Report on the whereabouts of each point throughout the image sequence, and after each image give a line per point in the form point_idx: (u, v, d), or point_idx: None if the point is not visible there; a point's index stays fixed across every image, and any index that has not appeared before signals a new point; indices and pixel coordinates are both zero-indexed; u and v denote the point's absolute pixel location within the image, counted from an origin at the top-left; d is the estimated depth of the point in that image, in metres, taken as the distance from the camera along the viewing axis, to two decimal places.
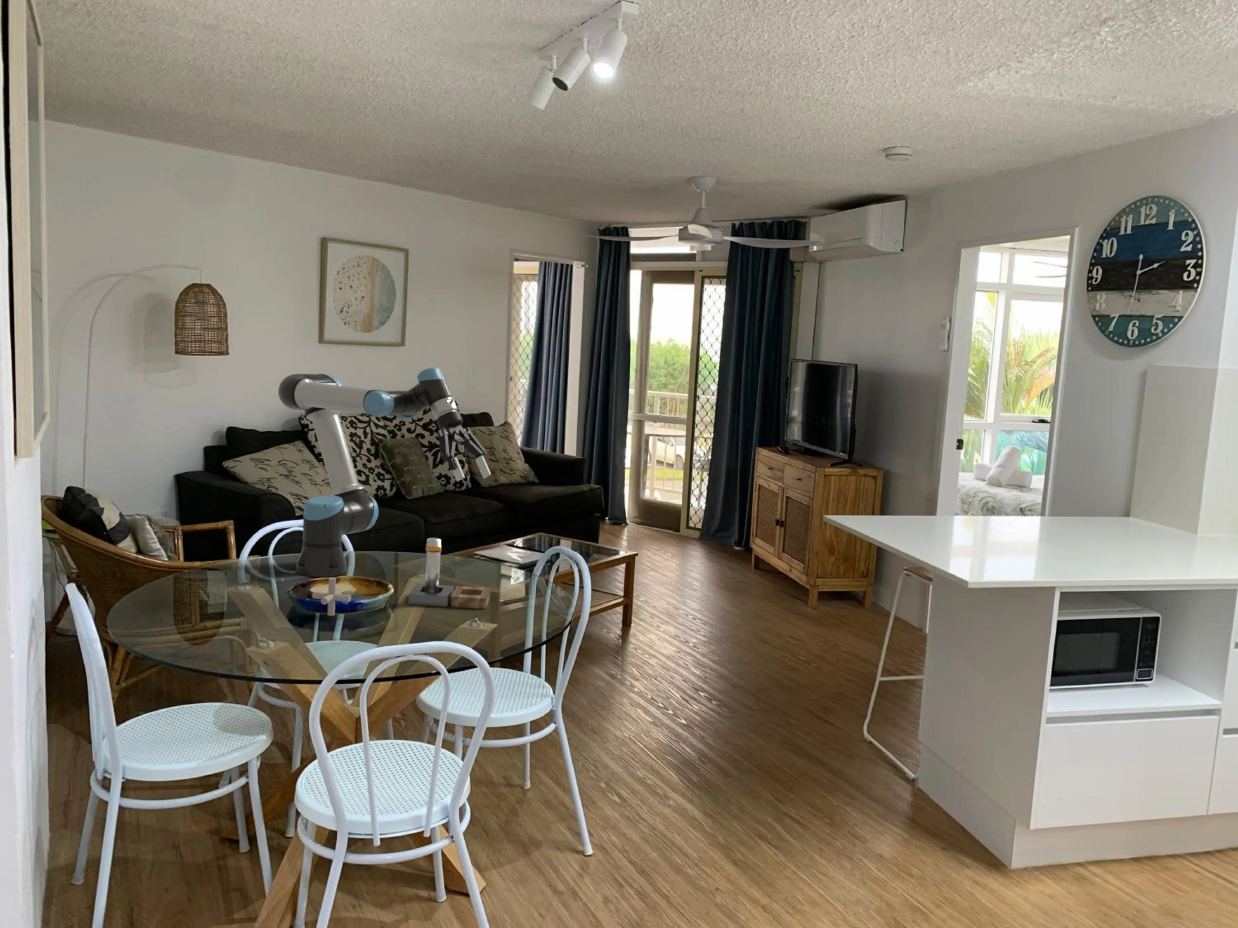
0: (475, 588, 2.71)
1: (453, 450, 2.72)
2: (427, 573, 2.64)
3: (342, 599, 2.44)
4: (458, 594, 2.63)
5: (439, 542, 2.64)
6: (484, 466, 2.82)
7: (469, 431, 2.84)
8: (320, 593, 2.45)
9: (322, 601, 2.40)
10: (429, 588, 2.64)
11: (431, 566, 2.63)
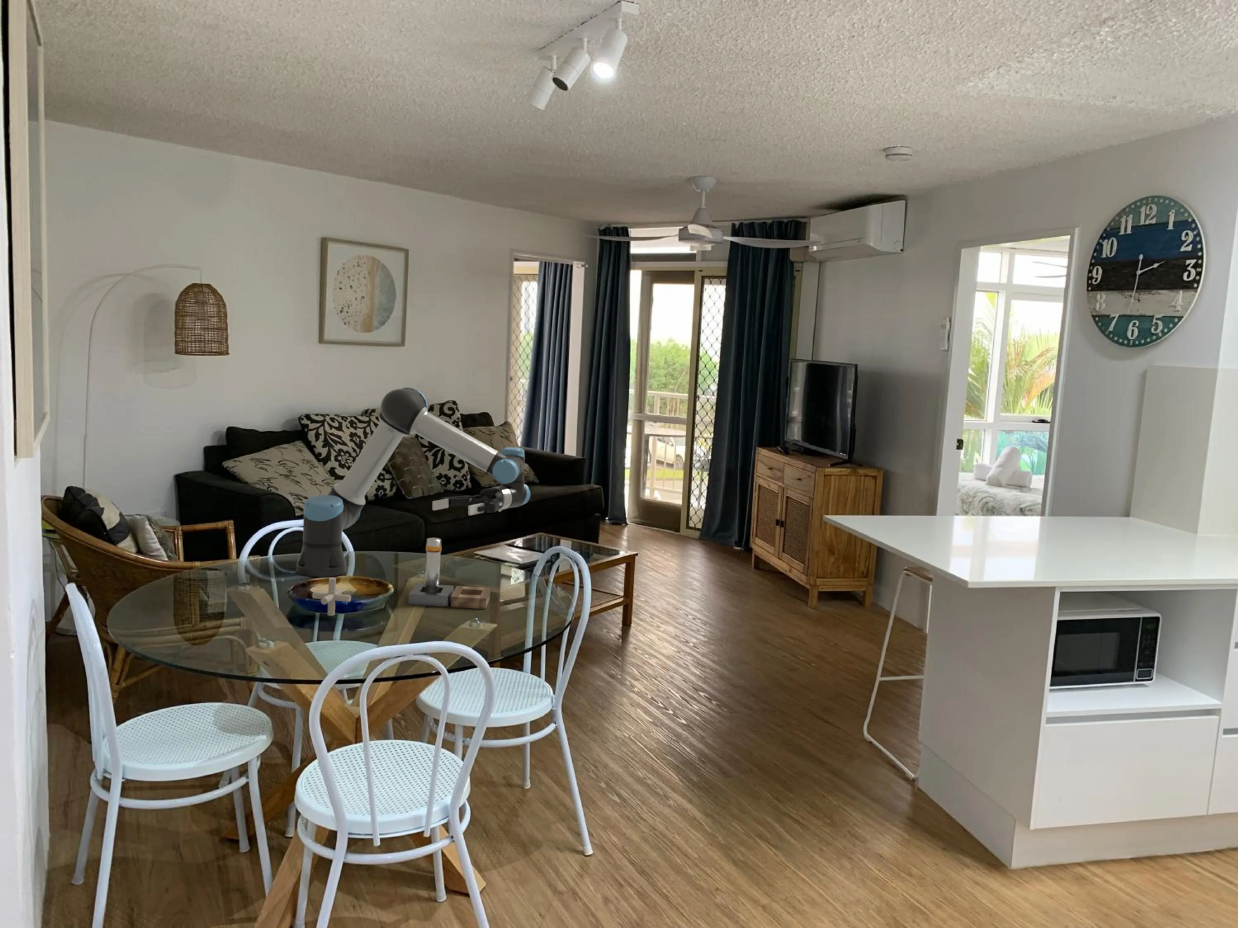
0: (475, 588, 2.71)
1: None
2: (427, 573, 2.64)
3: (342, 599, 2.44)
4: (458, 594, 2.63)
5: (439, 542, 2.64)
6: (441, 507, 2.77)
7: None
8: (320, 593, 2.45)
9: (322, 601, 2.40)
10: (429, 588, 2.64)
11: (431, 566, 2.63)
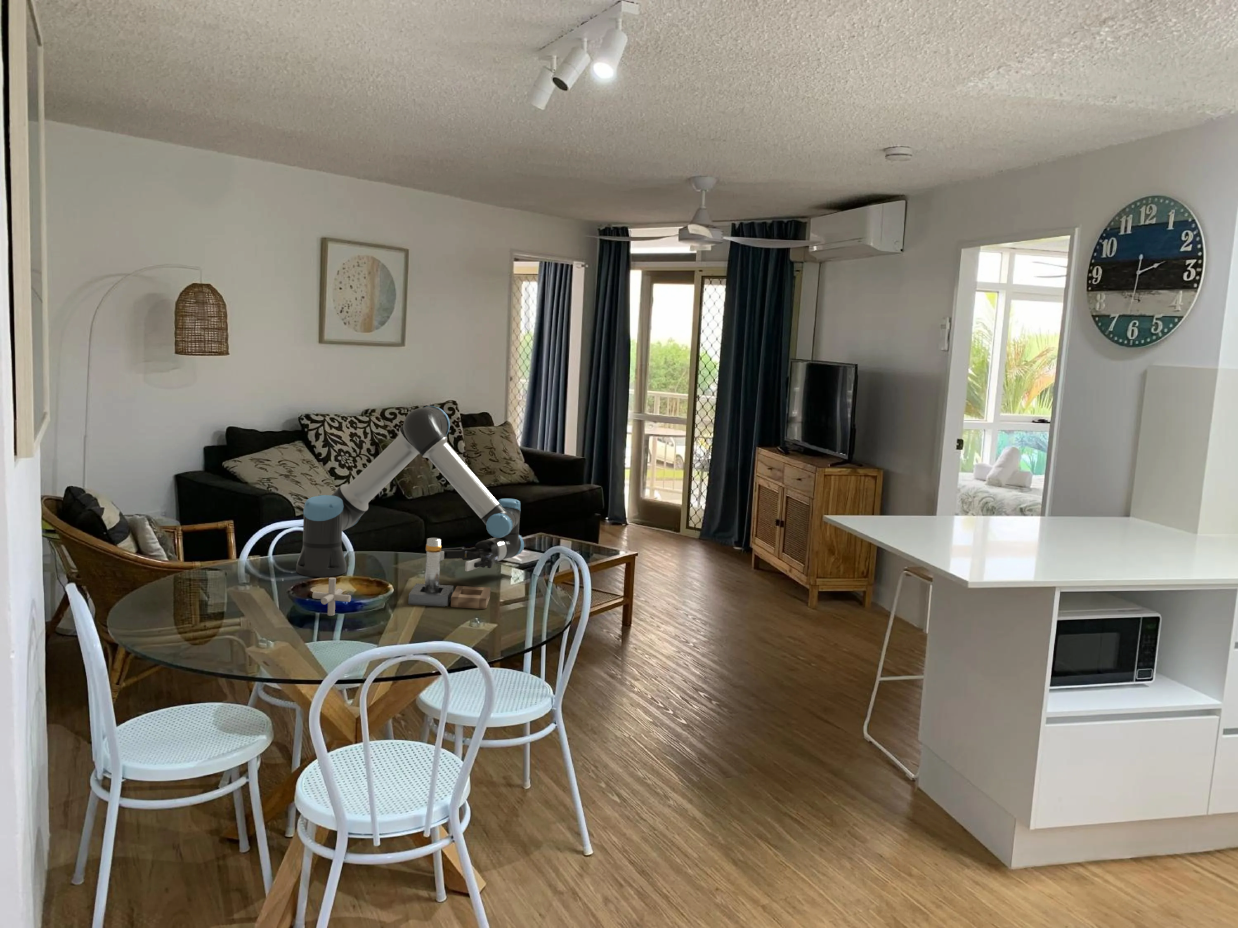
0: (475, 588, 2.71)
1: None
2: (427, 573, 2.64)
3: (342, 599, 2.44)
4: (458, 594, 2.63)
5: (439, 542, 2.64)
6: None
7: None
8: (320, 593, 2.45)
9: (322, 601, 2.40)
10: (429, 588, 2.64)
11: (431, 566, 2.63)
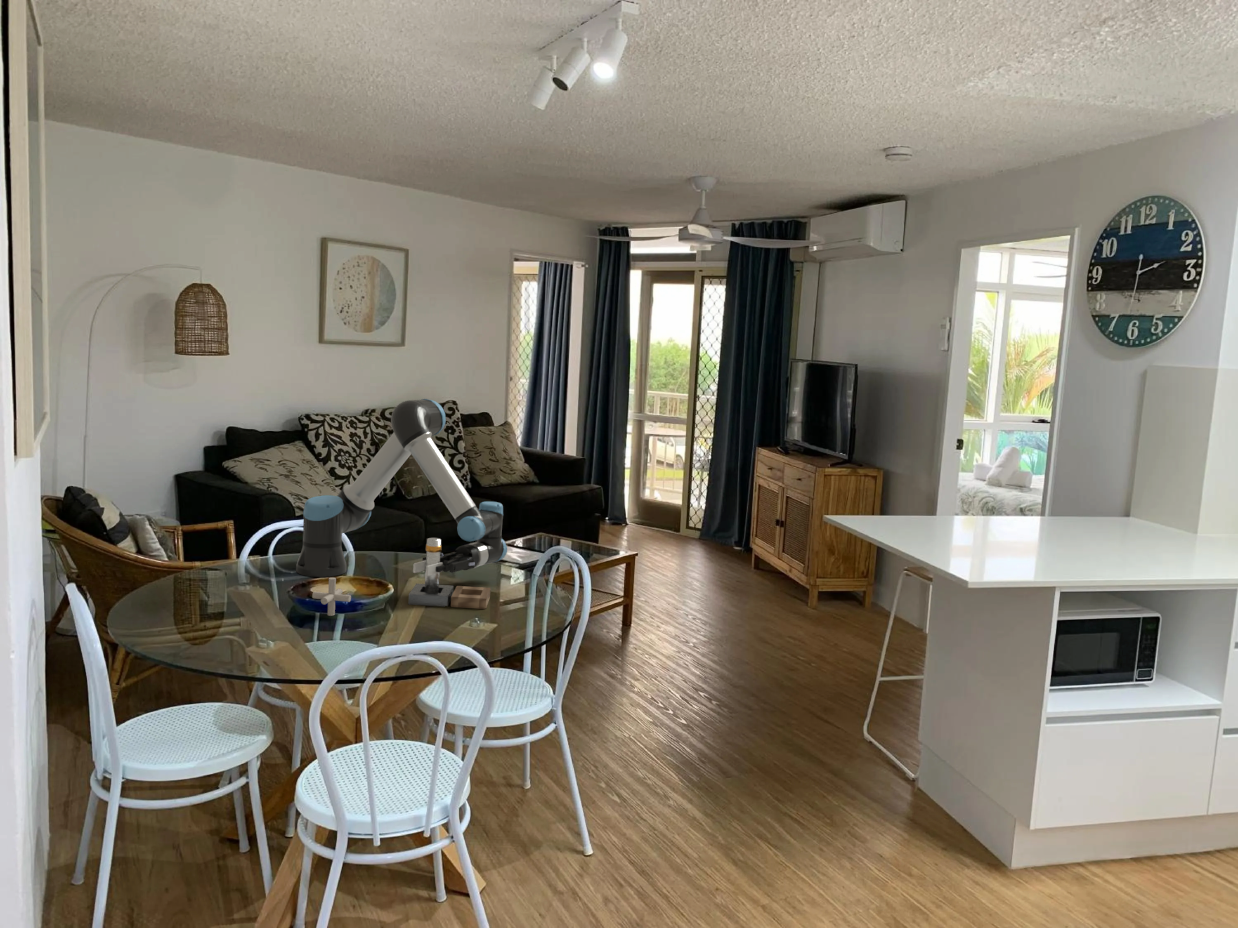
0: (475, 588, 2.71)
1: None
2: None
3: (342, 599, 2.44)
4: (458, 594, 2.63)
5: (439, 542, 2.64)
6: (422, 569, 2.64)
7: None
8: (320, 593, 2.45)
9: (322, 601, 2.40)
10: (429, 587, 2.64)
11: None
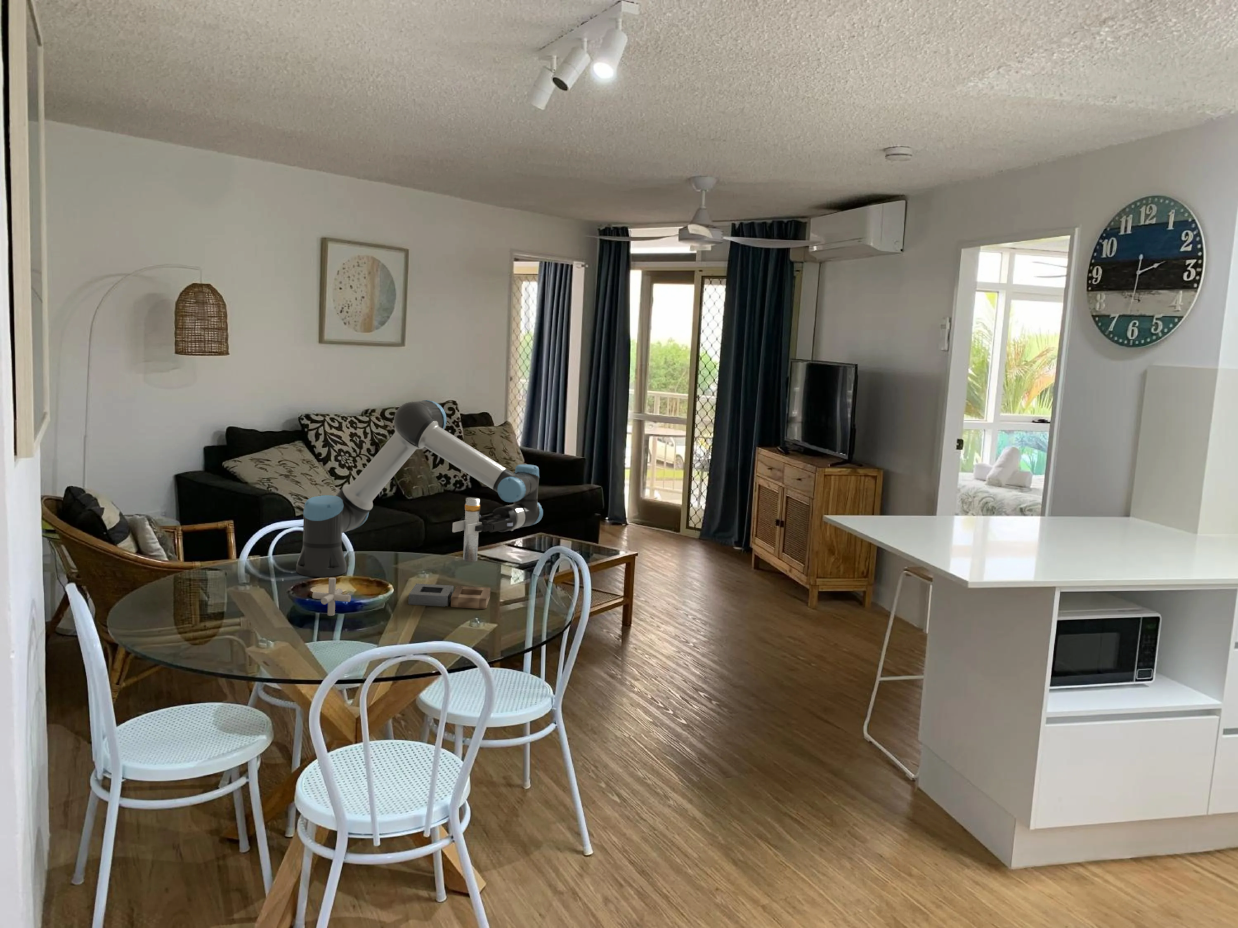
0: (475, 588, 2.71)
1: None
2: None
3: (342, 599, 2.44)
4: (458, 594, 2.63)
5: (478, 501, 2.62)
6: (461, 528, 2.63)
7: None
8: (320, 593, 2.45)
9: (322, 601, 2.40)
10: (468, 547, 2.63)
11: None
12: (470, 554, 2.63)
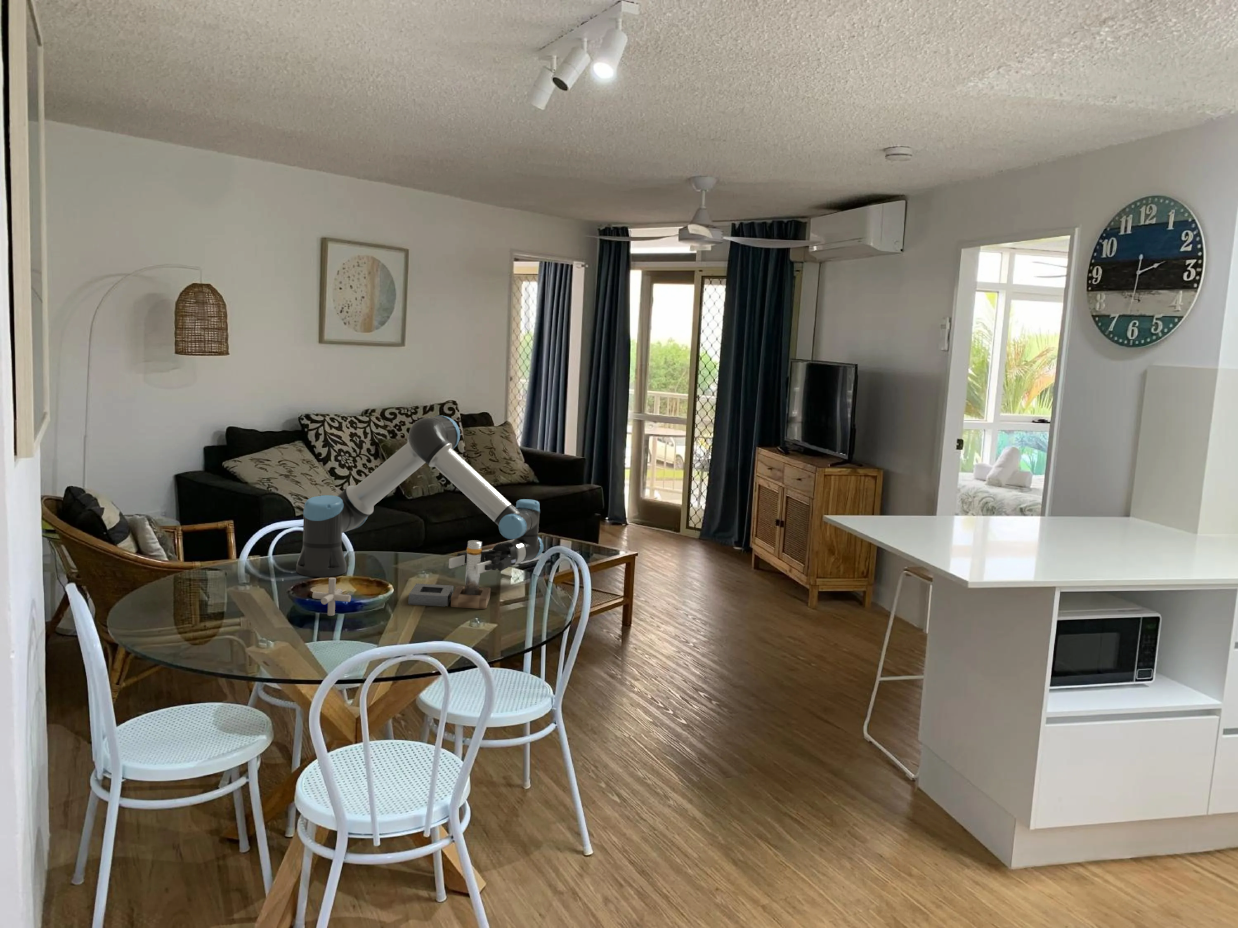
0: None
1: None
2: (468, 575, 2.65)
3: (342, 599, 2.44)
4: (458, 594, 2.63)
5: (480, 545, 2.64)
6: (457, 564, 2.66)
7: None
8: (320, 593, 2.45)
9: (322, 601, 2.40)
10: (469, 590, 2.65)
11: (471, 569, 2.64)
12: None
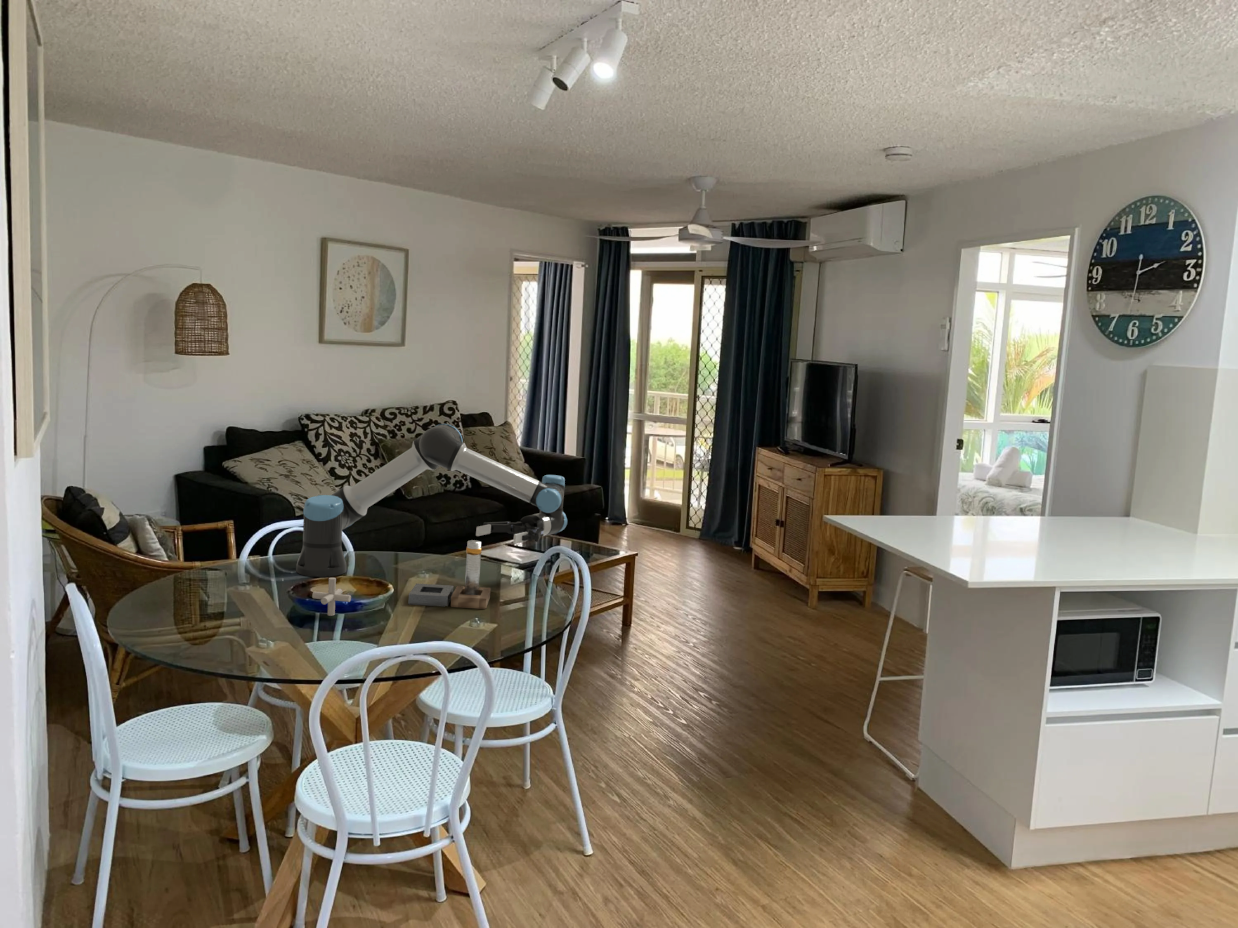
0: None
1: None
2: (467, 575, 2.65)
3: (342, 599, 2.44)
4: (458, 594, 2.63)
5: (479, 544, 2.64)
6: (483, 532, 2.79)
7: None
8: (320, 593, 2.45)
9: (322, 601, 2.40)
10: (469, 590, 2.65)
11: (471, 569, 2.64)
12: None
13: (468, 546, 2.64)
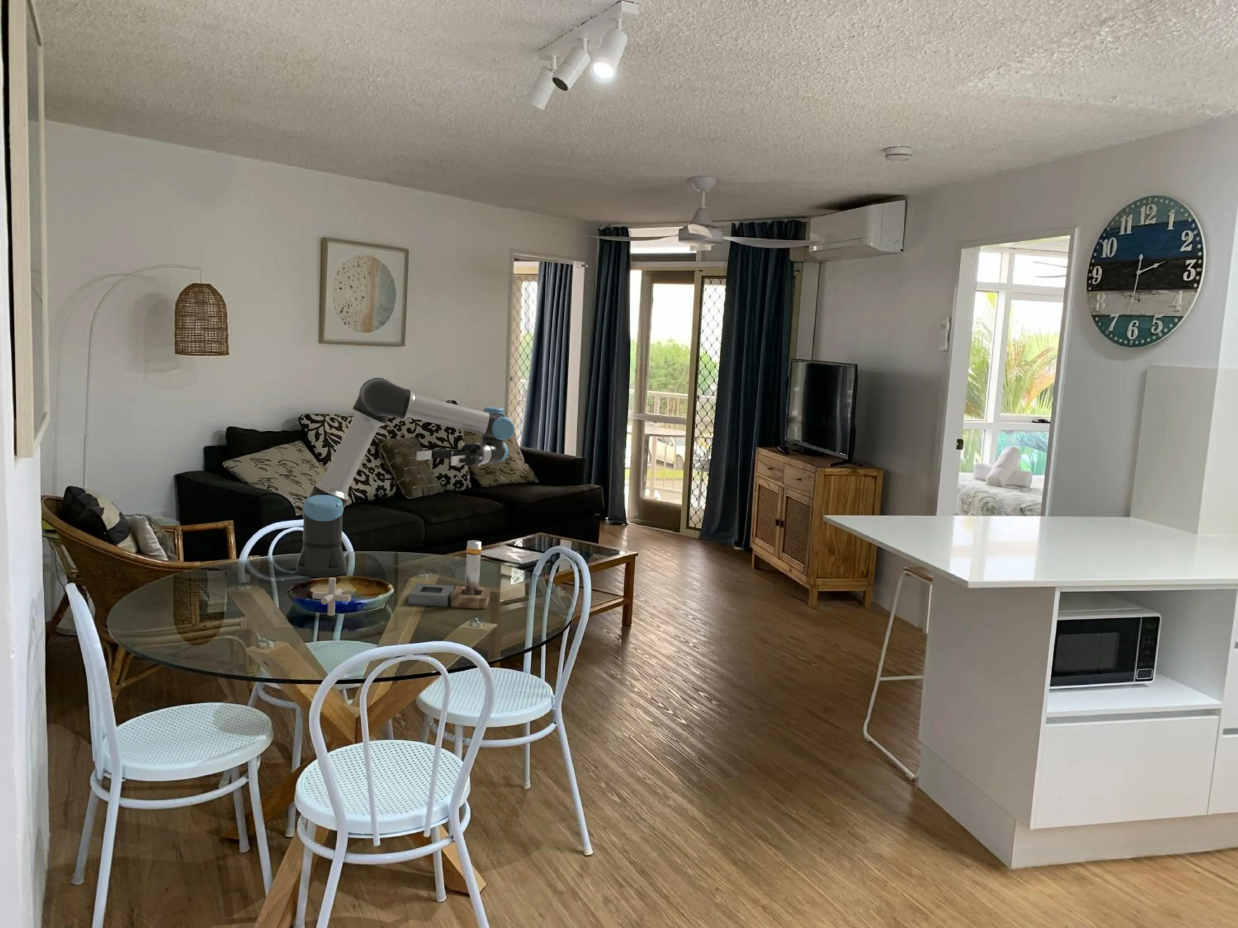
0: None
1: None
2: (467, 575, 2.65)
3: (342, 599, 2.44)
4: (458, 594, 2.63)
5: (479, 545, 2.64)
6: (424, 457, 2.94)
7: None
8: (320, 593, 2.45)
9: (322, 601, 2.40)
10: (469, 590, 2.65)
11: (471, 569, 2.64)
12: None
13: (468, 546, 2.64)
